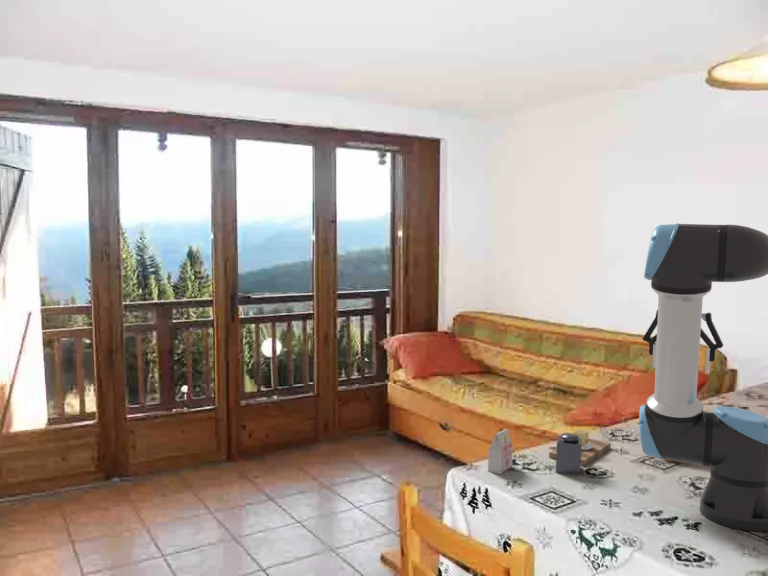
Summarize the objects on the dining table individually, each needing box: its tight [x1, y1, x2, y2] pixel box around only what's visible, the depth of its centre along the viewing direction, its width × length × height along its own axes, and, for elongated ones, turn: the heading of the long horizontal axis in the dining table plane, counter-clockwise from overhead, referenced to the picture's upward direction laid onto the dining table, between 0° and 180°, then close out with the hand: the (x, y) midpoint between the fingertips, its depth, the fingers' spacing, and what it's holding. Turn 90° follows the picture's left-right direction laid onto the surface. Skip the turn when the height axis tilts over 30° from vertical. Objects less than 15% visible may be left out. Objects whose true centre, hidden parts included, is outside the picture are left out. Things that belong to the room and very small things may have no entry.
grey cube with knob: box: [555, 432, 582, 476], centre depth 170 cm, size 6×6×9 cm
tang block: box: [548, 429, 612, 467], centre depth 184 cm, size 20×10×6 cm, turn 142°
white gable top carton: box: [487, 428, 514, 475], centre depth 170 cm, size 4×7×10 cm, turn 145°
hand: (680, 369), depth 182 cm, fingers open, 13 cm apart
